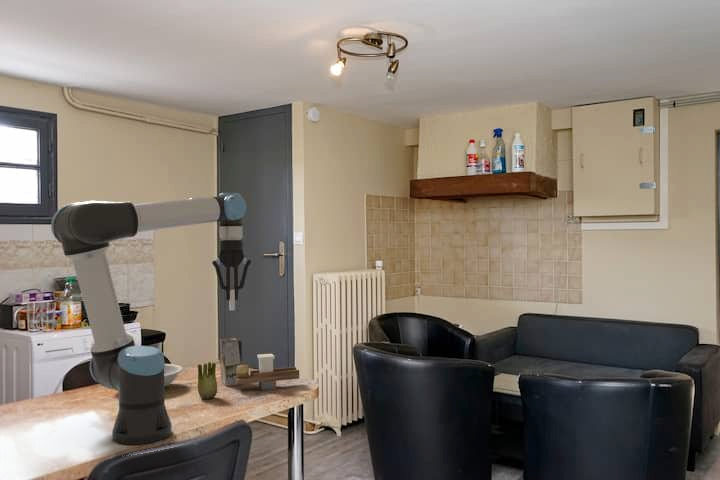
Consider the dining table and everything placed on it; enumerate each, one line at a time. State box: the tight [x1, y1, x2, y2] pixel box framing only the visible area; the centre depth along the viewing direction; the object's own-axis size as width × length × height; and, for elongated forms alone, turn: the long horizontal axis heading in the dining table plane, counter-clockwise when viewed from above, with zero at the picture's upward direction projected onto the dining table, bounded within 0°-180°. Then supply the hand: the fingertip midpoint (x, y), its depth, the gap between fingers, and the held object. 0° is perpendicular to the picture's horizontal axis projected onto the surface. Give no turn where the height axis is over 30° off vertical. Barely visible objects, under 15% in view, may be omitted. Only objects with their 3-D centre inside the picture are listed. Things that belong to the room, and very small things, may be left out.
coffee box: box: [219, 337, 243, 387], centre depth 221 cm, size 9×6×16 cm
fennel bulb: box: [197, 361, 218, 400], centre depth 199 cm, size 6×5×12 cm
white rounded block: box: [256, 353, 275, 373], centre depth 212 cm, size 5×5×7 cm
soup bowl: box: [164, 363, 184, 388], centre depth 213 cm, size 24×24×7 cm
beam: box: [235, 364, 300, 392], centre depth 212 cm, size 7×22×8 cm, turn 109°
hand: (232, 309), depth 199 cm, fingers closed
